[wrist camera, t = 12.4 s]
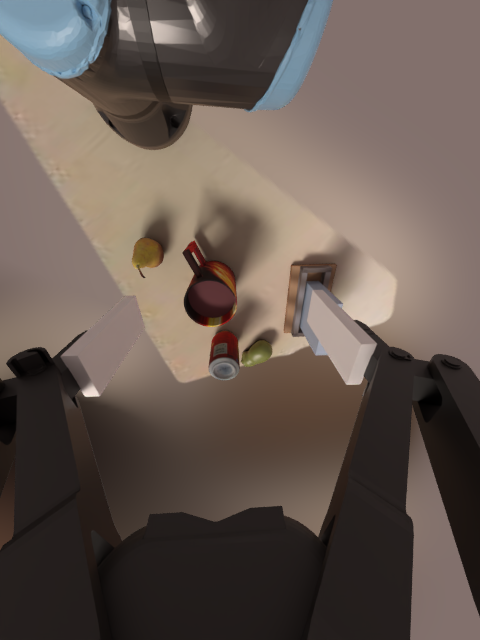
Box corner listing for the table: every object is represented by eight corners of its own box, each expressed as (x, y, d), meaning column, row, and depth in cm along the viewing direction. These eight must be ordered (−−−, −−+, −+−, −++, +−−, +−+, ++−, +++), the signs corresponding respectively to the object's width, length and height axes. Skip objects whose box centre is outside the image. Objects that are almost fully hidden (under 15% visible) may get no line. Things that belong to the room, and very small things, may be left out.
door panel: (305, 281, 47) (326, 304, 37) (318, 280, 47) (343, 303, 37) (298, 325, 54) (315, 355, 43) (310, 324, 54) (329, 354, 43)
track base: (291, 264, 46) (294, 268, 44) (334, 263, 47) (340, 267, 44) (283, 330, 56) (286, 336, 53) (319, 329, 56) (324, 335, 53)
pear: (277, 358, 53) (250, 374, 58) (275, 343, 57) (251, 360, 62) (262, 347, 51) (236, 365, 56) (261, 333, 55) (237, 351, 60)
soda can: (206, 335, 55) (202, 367, 45) (229, 324, 54) (230, 355, 43) (220, 352, 58) (218, 386, 48) (242, 342, 57) (245, 375, 47)
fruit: (162, 234, 42) (140, 246, 32) (169, 262, 45) (151, 281, 35) (135, 236, 42) (104, 249, 32) (144, 264, 45) (119, 284, 35)
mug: (193, 238, 42) (182, 251, 32) (243, 278, 47) (248, 300, 37) (169, 273, 46) (152, 294, 36) (218, 307, 51) (216, 335, 41)
